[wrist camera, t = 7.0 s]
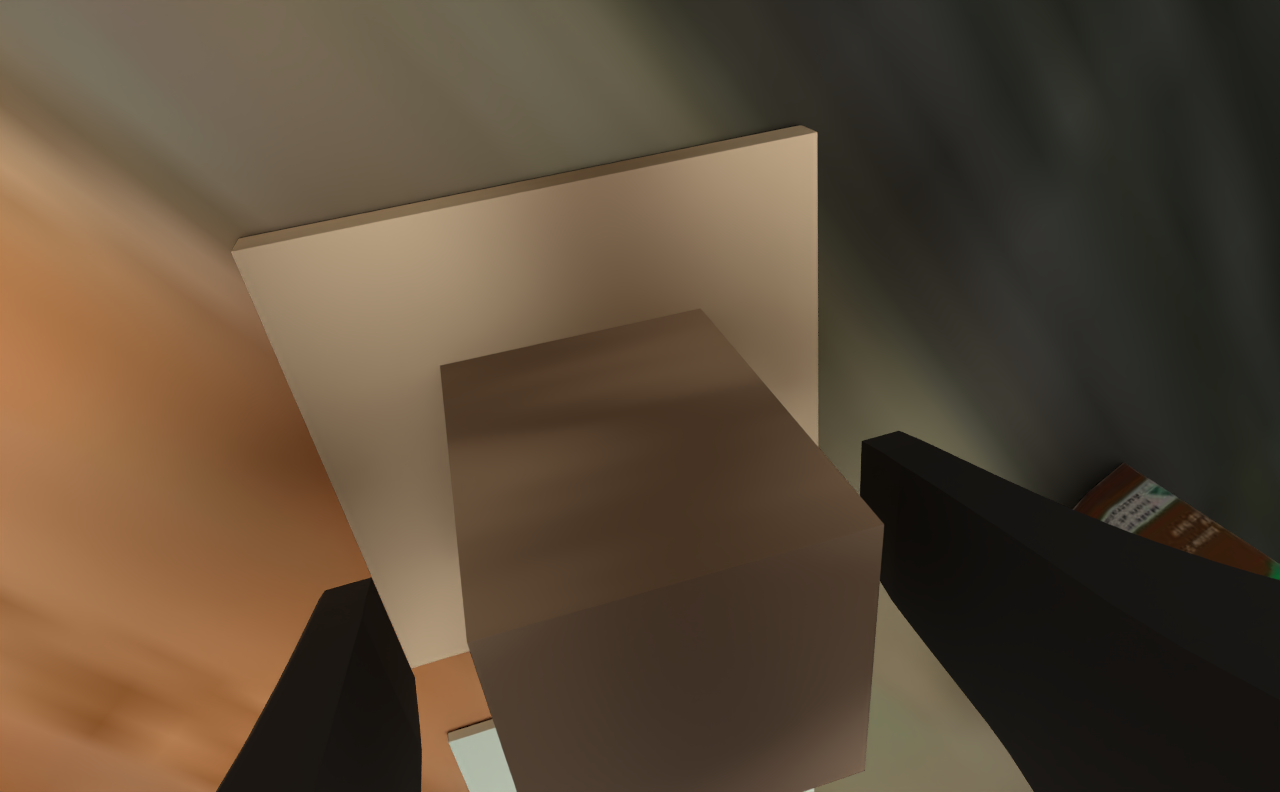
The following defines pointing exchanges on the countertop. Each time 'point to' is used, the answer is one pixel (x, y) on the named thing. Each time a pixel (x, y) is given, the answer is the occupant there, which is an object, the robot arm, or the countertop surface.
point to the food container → (1169, 521)
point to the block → (658, 567)
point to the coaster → (522, 320)
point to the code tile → (483, 758)
